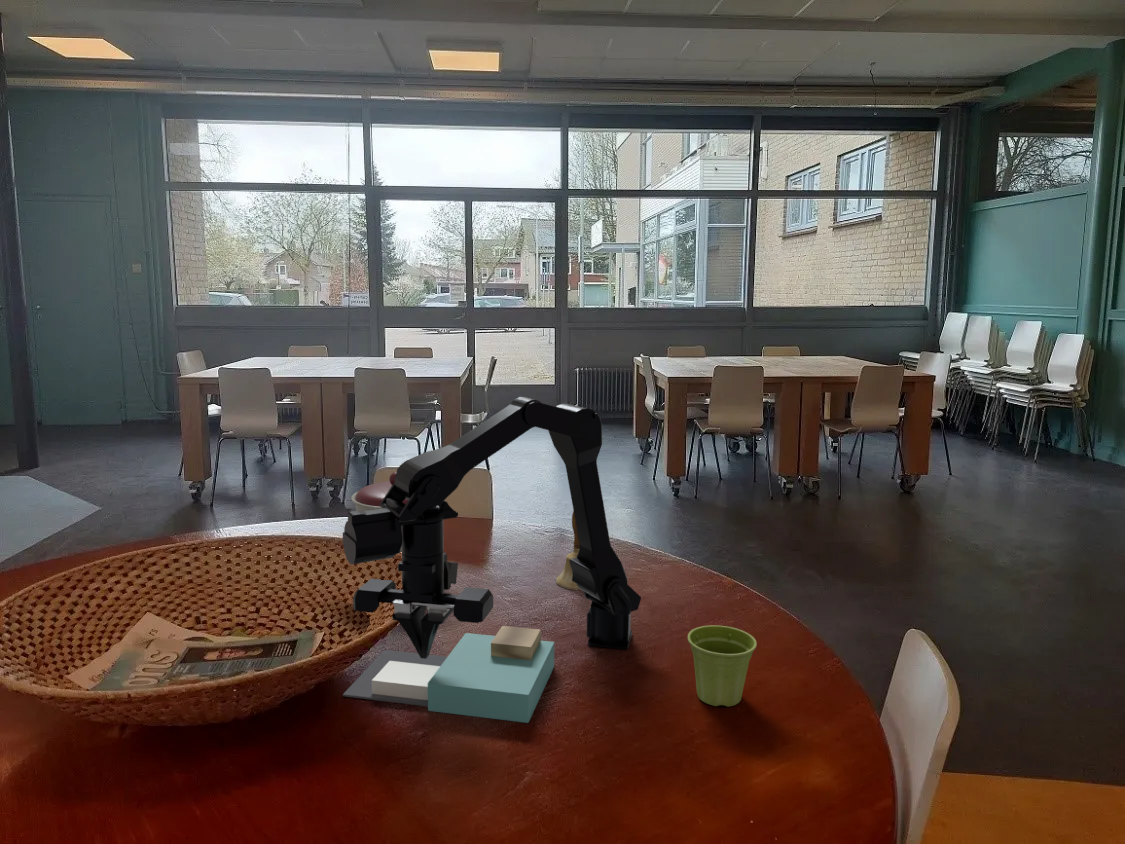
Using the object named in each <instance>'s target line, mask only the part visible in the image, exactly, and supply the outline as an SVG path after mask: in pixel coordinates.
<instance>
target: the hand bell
mask: <svg viewBox="0 0 1125 844" xmlns="http://www.w3.org/2000/svg"><path fill="white" fill-rule="evenodd" d="M571 526H572V527H571V528H572V531H573V535H574V536H573V550H572V552H570V553H568V554H567V555H566V557H565V558H566V559H565V563H564V567H563V570H562V572H561V573H560V574H559V575H558V576H557V578H556V579H555V583H556V584H557V585H558V586H559V587H561V588H564V589H566V590H572V591H573V590H577V591H582V590H581V589H580V588H579V587H578V586H577V584H576V583H575V582H573V581H572V576H573V574H572V568H571V566H570V561H569V560H570V559H573V558H577V555H578V552H579V550H580V543H579V538H578V532H577V527H576V521H575V516H574V510H573V511H572V514H571Z"/></svg>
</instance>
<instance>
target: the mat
mask: <svg viewBox="0 0 1125 844" xmlns="http://www.w3.org/2000/svg"><path fill="white" fill-rule="evenodd" d="M447 657H448V655H447V656H445V655H437V654H429V656H428V657H427V658H426V659H424V658H423V659H422V658H420V656H419V654H418V652H410V651H409V652H406V651H398V650H388V649H384V650H383V651H382V652H381V654H379V656H378V657H377V658H376V659H375V660H374V661H373V662H372V663H371V664H370V665H369V666H368V667H367V668H366V669H365V670H364V672H363V673H362V674H361V675H360V676H358V678H357V679H356V680H355V681H354V682H353V683H352V684H351V685H350V686H349V687H348V688H347V690H345V691H344V693H343V694H342V696H343V697H346V698H354V699H362V700H363V699H364V700H372V701H379V702H388V703H397V704H402V705H403V704H405V705H411V706H412V705H414V706H421V707H428V700H421V699H413V698H405V697H396V696H388V695H380V694H372V679H373V678H374V677H375V676H376V675H377V674H378V673H379V672H380V671H381V670H382V669H383V667H384V666H385V665H386V664H387V663H388V662H389V661H397V662H406V663H415V664H424V665H433V666H441V665H442V664H443V662H444V661H445V660H446V658H447Z"/></svg>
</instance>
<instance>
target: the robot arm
mask: <svg viewBox="0 0 1125 844" xmlns="http://www.w3.org/2000/svg"><path fill="white" fill-rule="evenodd" d="M532 428H539V429H543V430H546V431H548V433H549V436H550V440H551V442H552V444H553V446H554V447H553V448H554V449H555V450H556V451H557V453H558V455H559V457H560V458H561V460H562V461H563V463H564V465H565V469H566V470H565V471H566V476H567V481H568V487H569V493H570V498H571V504H572V509H573V511H574V516H575V521H576V527H577V532H578V538H579V543H580V550H579V552H578V555H577V558H573V559H570V560H569V561H570V566H571V568H572V574H573V576H572V581H573V582H575V583H576V584H577V586H578V587H579V588H580V589H581V590H580V591H582V593H583V596H584V597H585V599H587V600H590V601H591V604H590V607H589V609H588V611H587V613H586V637H587V638H588V641H587V645H588V646H590V647H597V648H598V647H599V648H609V649H619V650H628V649H629V648H630V647H629V646H630V643H631V639H632V636H633V630H632V629H631V627H632V626H631V622H632V612H635V611H638V610H639V607H640V603H641V600H642V596H641V595H639V593H637V591H635V589H633V588H632V587H631V586H630V585H629V584H628V583H629V581H628V577H627V574H626V572H625V569H624V566H623V562H622V561H621V559H620V558H619V556H618V554H617V553H616V552H615V550H614V547H612V544H611V540H610V534H609V528H608V522H607V517H606V511H605V510H606V509H605V504H604V499H603V493H602V487H601V481H600V475H599V469H598V464H597V463H598V457H599V454H600V451H601V449H602V446H603V424H602V420H601V416H600V415H599V414H598V413H597V412H596V411H594V410H593V409H591V408H587V407H582V406H578V405H575V404H570V403H560V404H558V405H556V406H553V405H549V404H546V403H542V402H541V401H540V400H537V399H535V398H530V397H527V396H519V397H517V398H514V399H513V400H512V401H511V402H510V404H509V405H507V406H505V407H504V408H502V409H501V410H500V411H498V412H496V413H495V414H493V415H492V416H490V417H489V418H487V419H485V420H484V421H483V422H481V423H480V424H478V425H477V426H475V427H474V428H472V429H471V430H469V431H468V432H466V433H465V434H463V435H462V436H460V437H459V438H457V439H455V440H454V441H453V442H451V443H450V444H448V445H447V444H446V445H445V446H443V447H440V448H435V449H433V450H428V451H425V452H423V453H420V454H418V455H416V456H414V457H411V458H409V459H406V460H405V461H403V462H402V463H401V464H400V465H399V466H397V467H398V468H397V469H396V472H397V473H396V476H395V482H394V483H393V485H392V486H391V488H390V489H389V491H388V493H387V494H386V496H385V497H384V499H383V500H382V502H381V503H380V507H381V508H383V509H376V510H369V511H356V510H352V511H348V512H347V521H346V522H345V524H344V527H343V532H342V544H343V550H344V554H345V558H346V560H347V562H348V564H349V565H357V564H365V563H364V562H370V561H375V560H381V559H387V558H393V557H394V556H395V554H398V553H400V548H401V546H402V561H401V562H400V563H399V564H398V571H402V583H401V585H402V588H401V589H397V586H396V585H397V583H394V581H392V580H381V579H374V578H371V579H369V580H367V582H365V583H364V584H363V585H362V586H360V587H359V588H358V589H357V590H356V591H355V592H354V593H353V594H354V595H353V596H352V601H353V602H352V603H353V604H352V606H353V608H352V609H353V610H354V611H355V612H363V613H374V612H375V611H376V610H378V608H380V603H384V604H386V603H387V604H392V605H393V606H394V607H393V608H394V613H393V614H392V615H391V618H392V620H393V621H397V622H398V623H399V624H400V626H401V627H402V629H403V630H404V632H405V633H406V634H407V636H408V638H409V639H410V641H411V643H412V645H413V647H414V648H415V650H416V653H418V654H419V656H420V658H422V659H423V658H424V659H426V658H427V657H428V656H429V655H430V652H431V649H432V647H433V643H434V640H435V638H436V634H437V632H438V629H439V627H440V626H441V625H442V624H444V623H445V622H446V621H447V619H448V618H449V616H450V615H451V614H452V613H453V617H455V619H456V620H457V621H458V622H464V623H475V624H479V623H482V622H484V620H485V619H486V618H487V617H488V615H489V614H490V613H491V611H492V610H493V608H494V595H493V593H492V592H491V590H490V589H489V588H478V587H469V586H465V587H464V589H463V590H462V591H461V592H460V593H459V594H453V593H447V592H445V590H447V591H449V590H450V588H452V584H453V585H457V578H458V568H459V562H457V561H456V562H455V561H454V562H453V561H448V555H447V553H448V552H445V551H444V549H445V548H444V547H445V546H444V544H445V543H444V539H445V538H444V520H448V519H456V518H458V516H459V513H458V512H457V511H456V510H454V509H453V508H452V507H451V506H450V505H449V503H448V501H446V500H447V498H449V496H450V495H451V494H452V493H454V492H455V491H456V490H457V489H458V488H459V486H460V484H461V483H462V480H464V477H465V476H466V475H467V474H468V473H469V472H470V471H471V470H473V469H474V468H475V467H477V466H479V465H480V464H481V463H483V462H484V461H486V460H487V459H489V458H490V457H492V456H494V454H496V453H498V452H499V451H501V450H502V449H503V448H504V447H506V446H507V445H510V443H511V444H512V442H513V441H515V440H516V439H518V438H519V437H521V436H522V435H523V434H525V433H526V432H528V431H530V430H531V429H532ZM405 499H408V502H407V504H404V503H402V501H404V500H405ZM426 611H427V613H426Z"/></svg>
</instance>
